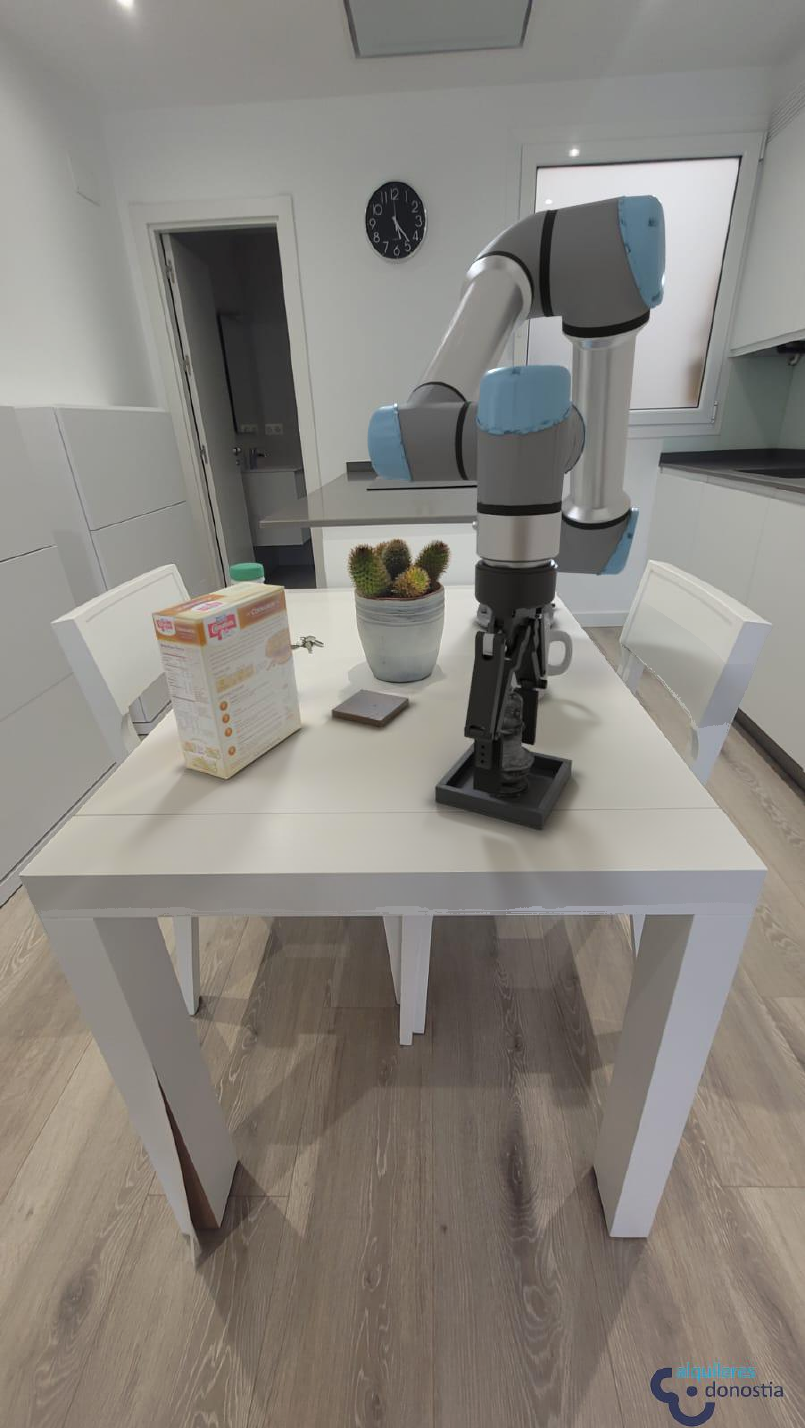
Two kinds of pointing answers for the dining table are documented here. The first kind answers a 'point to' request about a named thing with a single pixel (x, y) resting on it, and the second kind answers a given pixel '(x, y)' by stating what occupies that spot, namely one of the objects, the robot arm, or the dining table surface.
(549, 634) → the mug
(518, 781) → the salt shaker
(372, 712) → the coaster
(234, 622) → the coffeecake box
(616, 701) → the dining table surface
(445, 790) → the pan
